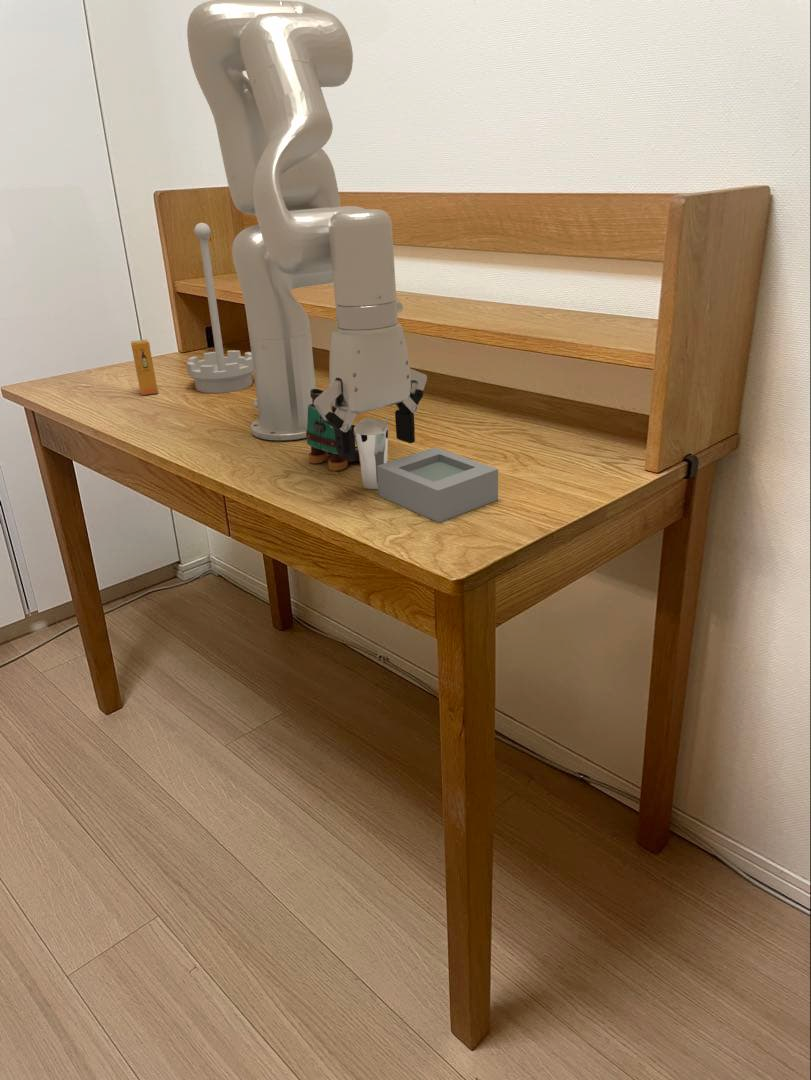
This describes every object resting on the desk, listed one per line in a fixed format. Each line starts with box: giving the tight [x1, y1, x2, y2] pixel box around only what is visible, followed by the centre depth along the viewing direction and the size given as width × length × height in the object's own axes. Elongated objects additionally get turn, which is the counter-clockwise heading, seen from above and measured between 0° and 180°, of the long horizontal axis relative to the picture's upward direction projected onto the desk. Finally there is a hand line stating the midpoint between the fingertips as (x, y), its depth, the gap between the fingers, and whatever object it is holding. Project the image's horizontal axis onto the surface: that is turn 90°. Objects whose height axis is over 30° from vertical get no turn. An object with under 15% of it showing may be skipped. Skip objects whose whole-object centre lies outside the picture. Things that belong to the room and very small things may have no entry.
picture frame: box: [377, 446, 499, 524], centre depth 108 cm, size 12×10×4 cm
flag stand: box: [186, 222, 254, 394], centre depth 159 cm, size 13×13×30 cm
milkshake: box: [354, 417, 389, 490], centre depth 112 cm, size 4×5×10 cm
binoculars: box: [306, 388, 359, 472], centre depth 122 cm, size 9×11×10 cm
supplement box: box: [130, 339, 159, 396], centre depth 160 cm, size 3×3×10 cm
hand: (377, 449), depth 111 cm, fingers open, 9 cm apart
